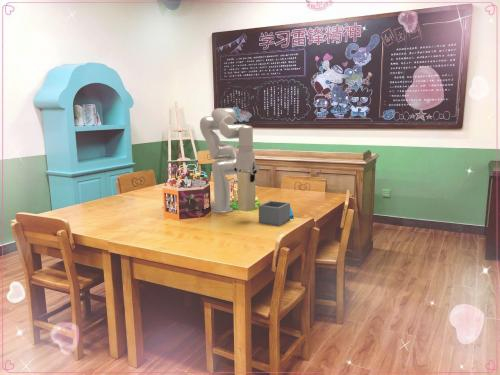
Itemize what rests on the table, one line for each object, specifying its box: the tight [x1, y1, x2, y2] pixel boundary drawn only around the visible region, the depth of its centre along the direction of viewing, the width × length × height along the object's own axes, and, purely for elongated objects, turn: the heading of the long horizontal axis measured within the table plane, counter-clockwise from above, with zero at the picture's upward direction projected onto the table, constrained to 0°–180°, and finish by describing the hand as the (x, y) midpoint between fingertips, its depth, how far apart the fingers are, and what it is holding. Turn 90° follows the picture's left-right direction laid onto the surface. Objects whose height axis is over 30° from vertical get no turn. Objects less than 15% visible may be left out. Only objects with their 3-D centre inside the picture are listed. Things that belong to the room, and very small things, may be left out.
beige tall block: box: [236, 170, 256, 212], centre depth 227 cm, size 8×7×21 cm
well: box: [258, 200, 291, 227], centre depth 229 cm, size 12×13×10 cm
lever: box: [290, 206, 295, 220], centre depth 245 cm, size 7×7×18 cm
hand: (245, 180), depth 226 cm, fingers closed on beige tall block, 7 cm apart
